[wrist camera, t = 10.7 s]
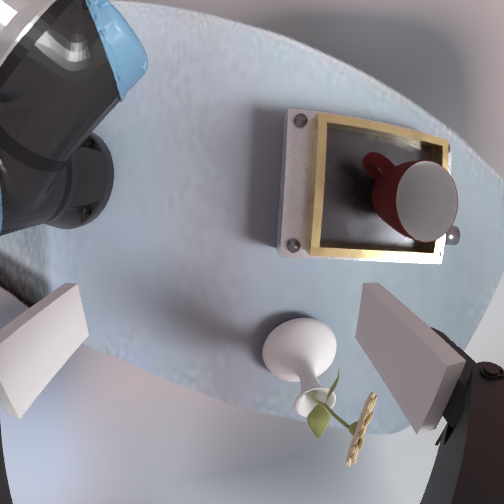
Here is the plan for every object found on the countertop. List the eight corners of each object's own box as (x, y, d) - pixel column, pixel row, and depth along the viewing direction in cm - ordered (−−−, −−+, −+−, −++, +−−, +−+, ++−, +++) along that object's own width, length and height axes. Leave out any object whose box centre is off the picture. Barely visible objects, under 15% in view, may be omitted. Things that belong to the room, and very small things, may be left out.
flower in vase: (312, 381, 46) (347, 504, 21) (250, 362, 45) (251, 497, 20) (351, 318, 43) (428, 429, 19) (286, 292, 42) (327, 415, 18)
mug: (329, 190, 34) (359, 192, 24) (364, 138, 32) (402, 124, 22) (390, 240, 35) (432, 258, 25) (421, 191, 34) (468, 195, 24)
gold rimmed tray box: (276, 248, 40) (282, 263, 33) (283, 117, 36) (291, 101, 29) (441, 256, 41) (471, 269, 33) (451, 148, 37) (482, 145, 29)
